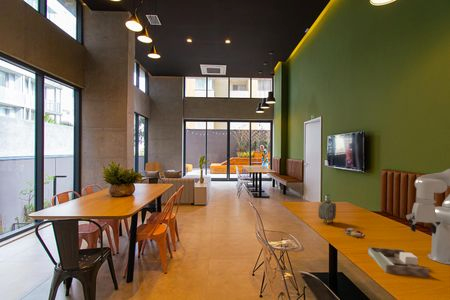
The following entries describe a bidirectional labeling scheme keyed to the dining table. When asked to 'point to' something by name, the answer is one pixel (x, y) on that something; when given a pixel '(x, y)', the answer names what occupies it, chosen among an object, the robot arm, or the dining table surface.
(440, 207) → the robot arm
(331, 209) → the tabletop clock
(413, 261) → the cream block
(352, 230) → the toy food set
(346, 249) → the dining table surface
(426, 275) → the box
